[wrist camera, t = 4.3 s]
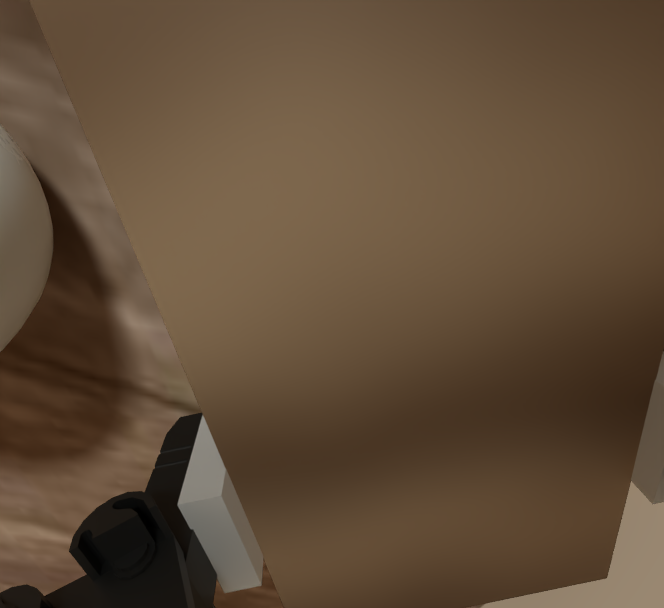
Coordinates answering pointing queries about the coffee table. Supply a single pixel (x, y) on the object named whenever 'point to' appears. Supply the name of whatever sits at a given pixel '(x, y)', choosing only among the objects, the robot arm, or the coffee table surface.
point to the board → (397, 269)
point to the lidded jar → (21, 239)
